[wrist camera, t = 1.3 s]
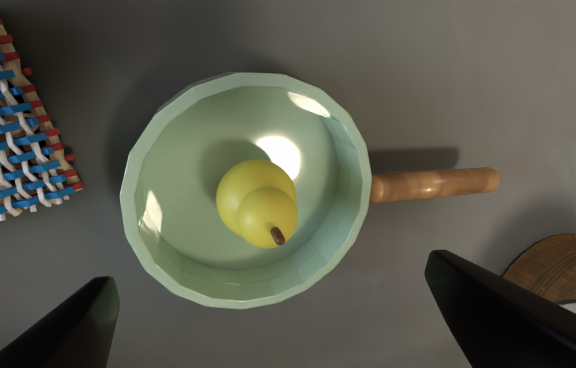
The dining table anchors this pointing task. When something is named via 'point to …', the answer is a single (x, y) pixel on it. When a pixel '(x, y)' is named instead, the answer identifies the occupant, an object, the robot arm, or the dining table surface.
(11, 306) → the dining table surface
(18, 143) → the woven mat
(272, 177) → the pear
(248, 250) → the pan
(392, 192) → the pan handle
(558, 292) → the wooden container
